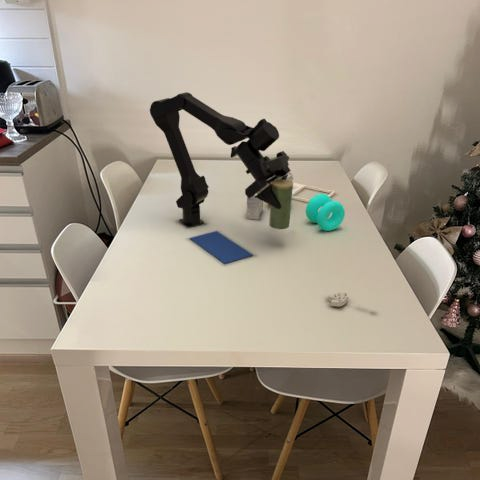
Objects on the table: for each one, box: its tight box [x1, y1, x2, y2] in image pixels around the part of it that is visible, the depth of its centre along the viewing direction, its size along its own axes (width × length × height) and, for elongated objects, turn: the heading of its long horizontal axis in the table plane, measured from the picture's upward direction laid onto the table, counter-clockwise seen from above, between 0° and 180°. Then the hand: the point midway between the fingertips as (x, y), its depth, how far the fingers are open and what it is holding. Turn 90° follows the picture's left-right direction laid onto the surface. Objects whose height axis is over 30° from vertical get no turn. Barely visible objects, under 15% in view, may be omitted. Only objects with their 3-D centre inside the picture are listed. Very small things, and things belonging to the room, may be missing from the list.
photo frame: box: [292, 182, 336, 203], centre depth 189 cm, size 15×1×18 cm
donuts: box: [305, 193, 346, 232], centre depth 162 cm, size 10×10×10 cm
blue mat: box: [189, 230, 254, 265], centre depth 150 cm, size 20×10×1 cm, turn 35°
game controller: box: [328, 291, 373, 312], centre depth 124 cm, size 6×12×3 cm, turn 77°
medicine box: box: [246, 193, 264, 221], centre depth 169 cm, size 8×4×9 cm, turn 168°
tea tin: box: [268, 179, 294, 230], centre depth 144 cm, size 6×6×13 cm
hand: (285, 205), depth 144 cm, fingers closed on tea tin, 6 cm apart
